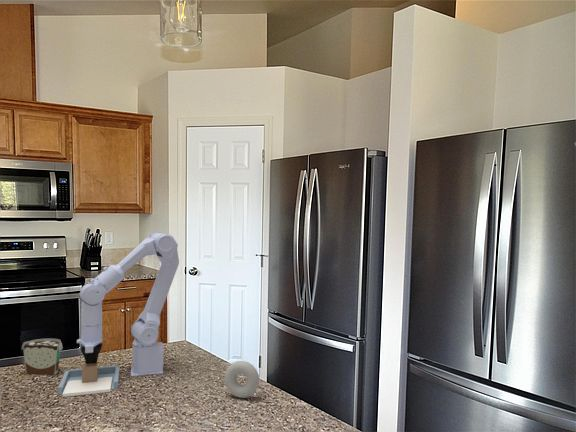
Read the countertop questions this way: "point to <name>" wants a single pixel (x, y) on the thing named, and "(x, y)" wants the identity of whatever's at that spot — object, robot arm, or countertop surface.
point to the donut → (233, 384)
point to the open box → (102, 372)
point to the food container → (42, 356)
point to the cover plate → (88, 382)
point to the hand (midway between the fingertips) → (91, 369)
